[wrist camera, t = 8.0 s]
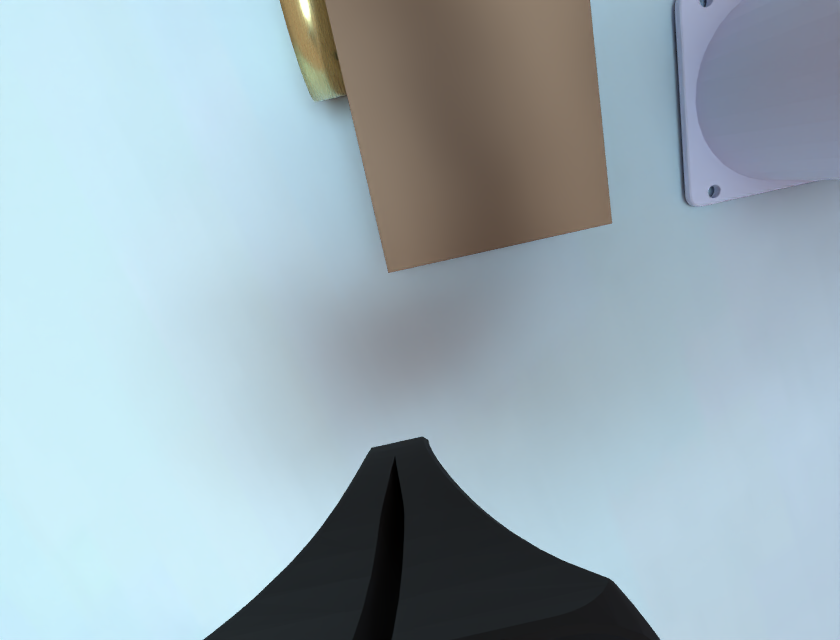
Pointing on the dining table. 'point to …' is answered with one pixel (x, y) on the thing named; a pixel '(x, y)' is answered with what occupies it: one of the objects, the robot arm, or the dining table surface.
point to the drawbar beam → (473, 121)
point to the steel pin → (314, 47)
